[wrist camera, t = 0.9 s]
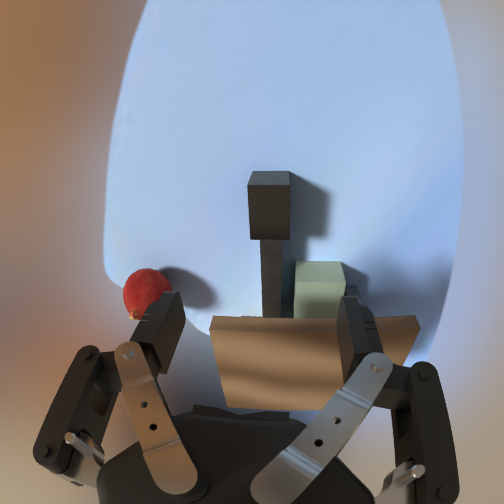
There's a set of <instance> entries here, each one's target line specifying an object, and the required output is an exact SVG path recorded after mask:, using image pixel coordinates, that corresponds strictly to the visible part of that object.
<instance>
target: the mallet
mask: <svg viewBox="0 0 504 504" xmlns="http://www.w3.org/2000/svg"><path fill="white" fill-rule="evenodd" d="M247 188H248V206H249V223H250V240H260V254H261V281H262V310H263V318H294V303H281V280H282V240H289V225H290V182H289V171H253V172H252V175H251V177H250V180H249V182H248V185H247ZM344 296H357V298H358V302H359V306H361V304H362V302H361V299H360V296H359V292H358V289H357V287H345V291H344Z"/></svg>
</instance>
